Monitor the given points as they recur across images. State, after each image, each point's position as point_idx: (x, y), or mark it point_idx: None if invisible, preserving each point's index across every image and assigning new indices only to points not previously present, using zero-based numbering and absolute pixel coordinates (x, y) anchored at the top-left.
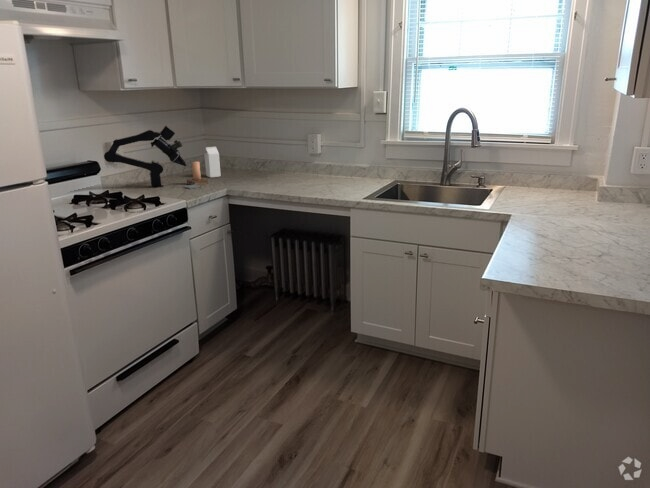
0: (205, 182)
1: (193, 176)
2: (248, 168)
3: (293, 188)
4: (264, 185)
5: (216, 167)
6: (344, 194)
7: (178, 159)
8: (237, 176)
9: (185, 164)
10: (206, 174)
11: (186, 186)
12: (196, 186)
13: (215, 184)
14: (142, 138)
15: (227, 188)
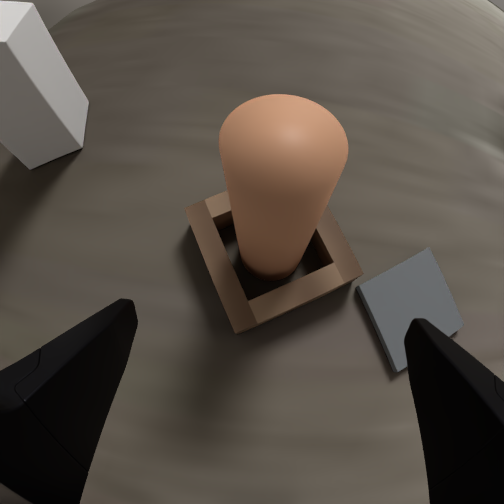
0: None
1: (286, 262)
2: None
3: (455, 17)
4: (410, 27)
5: (63, 79)
6: (496, 14)
7: (498, 461)
8: (145, 44)
9: (432, 330)
10: (28, 163)
11: None
12: (437, 276)
13: None
14: None
15: (466, 132)
